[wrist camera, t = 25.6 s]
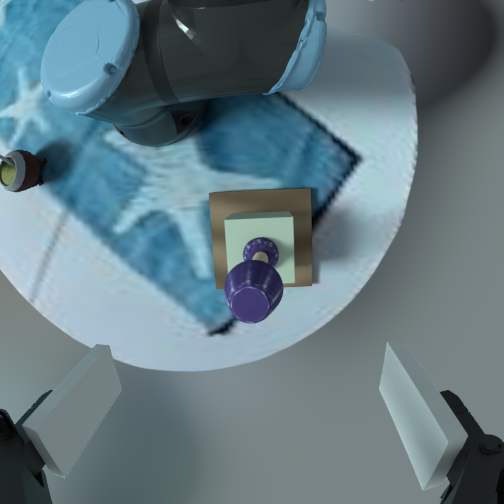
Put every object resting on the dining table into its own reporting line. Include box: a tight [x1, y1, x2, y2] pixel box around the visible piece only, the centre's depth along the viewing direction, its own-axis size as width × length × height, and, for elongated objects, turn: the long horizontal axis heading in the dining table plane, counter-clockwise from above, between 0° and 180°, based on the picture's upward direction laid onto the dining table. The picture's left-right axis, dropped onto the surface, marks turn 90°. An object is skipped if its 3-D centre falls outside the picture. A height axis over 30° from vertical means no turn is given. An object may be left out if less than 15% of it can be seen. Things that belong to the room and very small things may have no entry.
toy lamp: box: [224, 237, 283, 324], centre depth 29 cm, size 5×5×17 cm
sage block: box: [224, 211, 295, 283], centre depth 41 cm, size 8×8×7 cm
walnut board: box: [209, 188, 312, 289], centre depth 45 cm, size 14×14×1 cm
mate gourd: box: [0, 150, 47, 192], centre depth 37 cm, size 8×8×15 cm
